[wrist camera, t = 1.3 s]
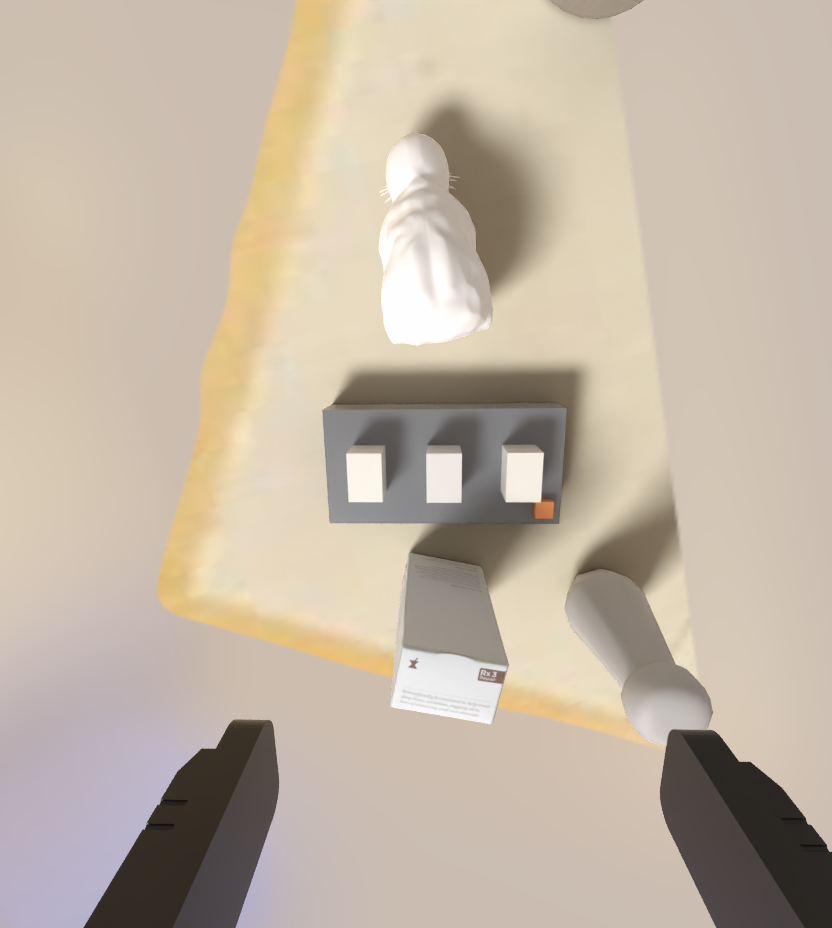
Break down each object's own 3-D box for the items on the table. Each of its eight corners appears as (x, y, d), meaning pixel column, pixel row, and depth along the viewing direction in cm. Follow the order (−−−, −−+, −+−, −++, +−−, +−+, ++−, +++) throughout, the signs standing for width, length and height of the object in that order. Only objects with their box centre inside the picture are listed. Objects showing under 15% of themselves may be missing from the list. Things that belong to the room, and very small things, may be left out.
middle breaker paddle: (426, 445, 31) (426, 453, 29) (459, 445, 31) (462, 453, 28) (427, 491, 32) (426, 502, 29) (459, 491, 32) (461, 502, 29)
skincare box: (399, 597, 37) (382, 714, 26) (408, 547, 36) (396, 645, 24) (474, 611, 37) (492, 733, 26) (486, 561, 36) (510, 665, 24)
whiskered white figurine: (381, 347, 24) (340, 92, 22) (396, 358, 32) (367, 174, 30) (503, 327, 23) (471, 65, 22) (487, 343, 32) (463, 156, 30)
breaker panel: (332, 404, 34) (313, 415, 28) (555, 402, 33) (578, 413, 28) (338, 508, 36) (321, 536, 30) (548, 508, 35) (568, 537, 30)
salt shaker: (633, 556, 36) (741, 672, 23) (632, 621, 37) (733, 765, 24) (556, 561, 36) (621, 679, 23) (557, 626, 37) (620, 770, 25)
